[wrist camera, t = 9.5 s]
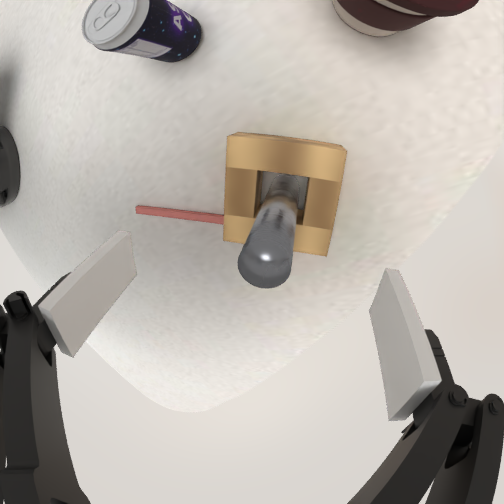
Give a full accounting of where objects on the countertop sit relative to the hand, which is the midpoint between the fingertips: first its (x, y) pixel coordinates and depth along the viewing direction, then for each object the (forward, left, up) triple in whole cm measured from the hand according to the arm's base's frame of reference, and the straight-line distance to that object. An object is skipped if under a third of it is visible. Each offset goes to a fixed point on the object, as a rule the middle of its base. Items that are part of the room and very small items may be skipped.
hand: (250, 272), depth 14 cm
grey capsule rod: (+1, 0, -16) cm, 16 cm away
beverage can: (-12, +15, -16) cm, 25 cm away
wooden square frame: (0, 0, -16) cm, 16 cm away
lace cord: (-11, -5, -16) cm, 20 cm away
